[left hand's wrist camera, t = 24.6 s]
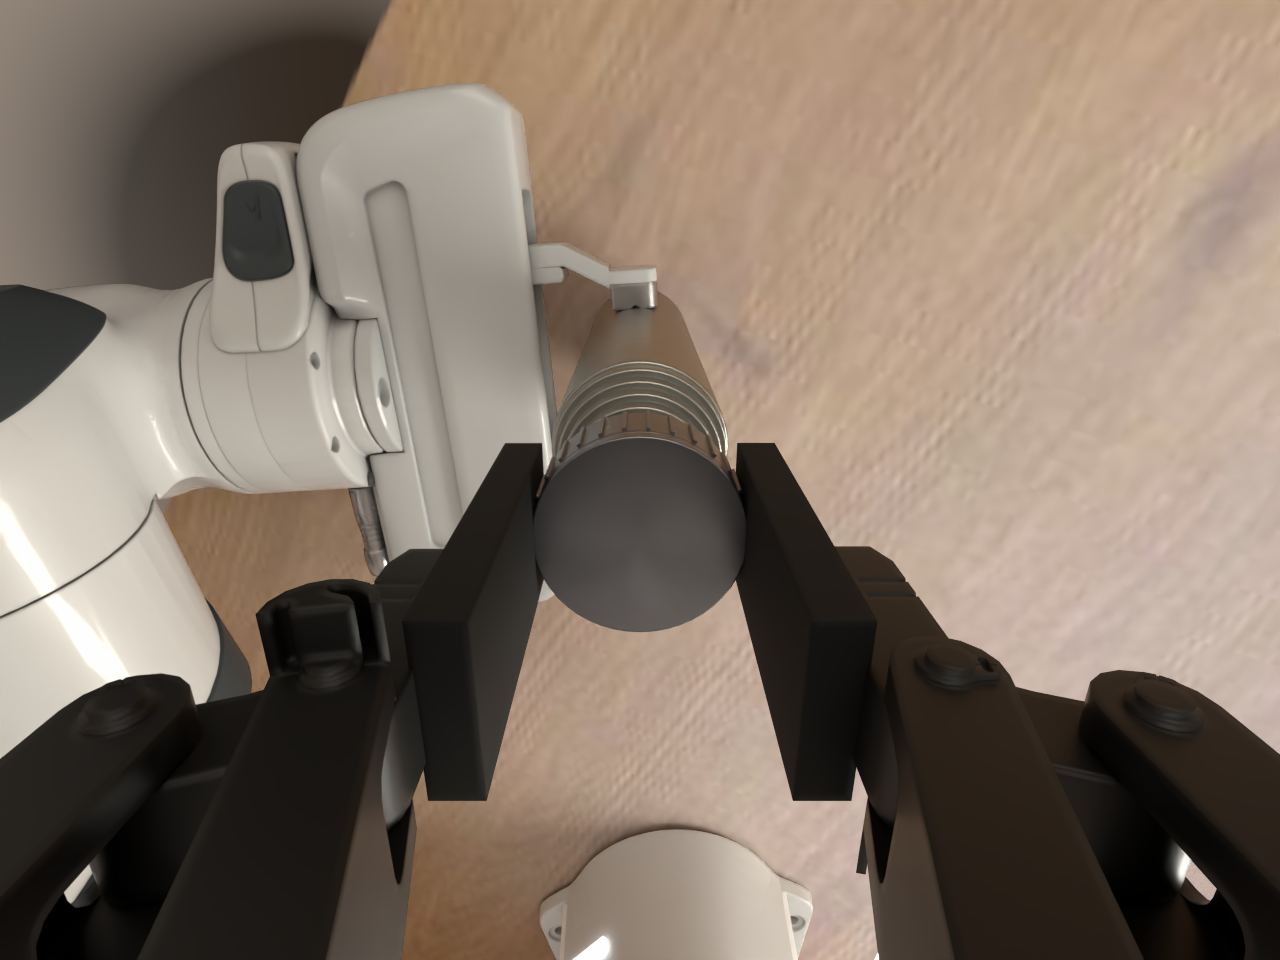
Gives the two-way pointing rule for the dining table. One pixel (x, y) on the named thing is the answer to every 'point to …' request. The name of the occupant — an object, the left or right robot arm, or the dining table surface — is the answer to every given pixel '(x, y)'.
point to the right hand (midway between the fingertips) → (661, 360)
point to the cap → (639, 523)
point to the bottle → (639, 374)
